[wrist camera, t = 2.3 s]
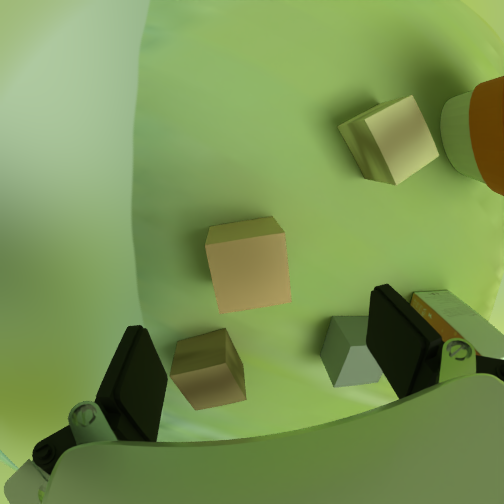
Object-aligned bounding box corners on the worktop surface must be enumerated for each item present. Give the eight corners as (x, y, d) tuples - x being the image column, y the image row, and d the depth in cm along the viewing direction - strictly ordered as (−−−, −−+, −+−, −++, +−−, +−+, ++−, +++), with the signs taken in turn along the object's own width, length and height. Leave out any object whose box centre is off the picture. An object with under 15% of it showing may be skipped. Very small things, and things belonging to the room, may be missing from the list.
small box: (412, 291, 25) (490, 362, 13) (448, 289, 26) (520, 347, 14) (390, 351, 28) (445, 428, 16) (427, 344, 29) (481, 409, 16)
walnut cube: (243, 364, 26) (246, 399, 22) (198, 375, 26) (195, 410, 22) (225, 327, 25) (225, 362, 20) (177, 340, 25) (169, 376, 20)
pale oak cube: (404, 153, 21) (439, 155, 16) (364, 178, 21) (396, 185, 16) (379, 103, 19) (412, 94, 14) (336, 126, 20) (364, 119, 15)
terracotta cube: (279, 273, 23) (291, 302, 19) (221, 282, 23) (219, 313, 18) (272, 216, 22) (284, 232, 17) (209, 226, 21) (204, 245, 17)
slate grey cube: (359, 352, 27) (377, 382, 23) (319, 354, 27) (333, 387, 22) (374, 315, 26) (397, 343, 21) (332, 315, 25) (350, 346, 21)
